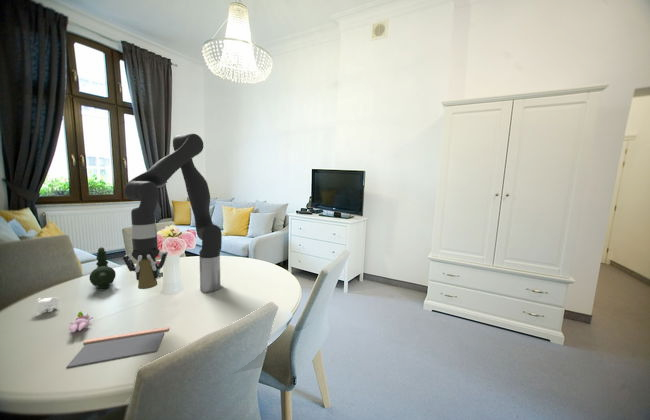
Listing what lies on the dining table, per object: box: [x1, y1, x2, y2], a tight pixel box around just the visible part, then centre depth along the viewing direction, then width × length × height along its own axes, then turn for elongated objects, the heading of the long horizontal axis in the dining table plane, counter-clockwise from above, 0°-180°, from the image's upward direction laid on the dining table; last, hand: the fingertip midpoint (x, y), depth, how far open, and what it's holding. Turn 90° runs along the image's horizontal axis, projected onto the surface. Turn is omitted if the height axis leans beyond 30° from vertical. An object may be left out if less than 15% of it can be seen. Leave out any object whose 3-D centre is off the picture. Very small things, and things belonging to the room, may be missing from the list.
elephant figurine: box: [34, 296, 60, 314], centre depth 99 cm, size 7×8×6 cm
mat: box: [66, 331, 165, 369], centre depth 80 cm, size 22×10×1 cm, turn 111°
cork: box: [137, 259, 158, 290], centre depth 93 cm, size 6×6×11 cm
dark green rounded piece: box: [88, 247, 116, 291], centre depth 123 cm, size 9×19×25 cm
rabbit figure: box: [69, 310, 94, 333], centre depth 89 cm, size 6×6×15 cm
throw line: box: [82, 326, 170, 345], centre depth 86 cm, size 24×2×1 cm, turn 111°
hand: (147, 279), depth 93 cm, fingers closed on cork, 4 cm apart
